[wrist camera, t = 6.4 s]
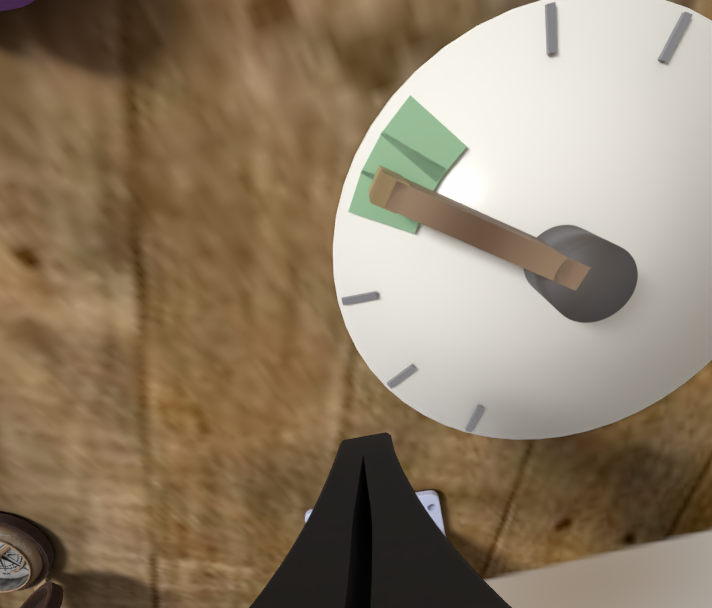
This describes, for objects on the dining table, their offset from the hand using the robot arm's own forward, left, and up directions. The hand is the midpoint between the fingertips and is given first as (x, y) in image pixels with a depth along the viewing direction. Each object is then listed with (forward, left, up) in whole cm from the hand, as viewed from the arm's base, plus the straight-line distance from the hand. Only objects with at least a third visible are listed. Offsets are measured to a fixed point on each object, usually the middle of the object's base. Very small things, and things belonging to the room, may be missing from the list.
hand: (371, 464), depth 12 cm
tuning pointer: (+3, -6, -9) cm, 11 cm away
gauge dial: (+1, -9, -10) cm, 14 cm away
